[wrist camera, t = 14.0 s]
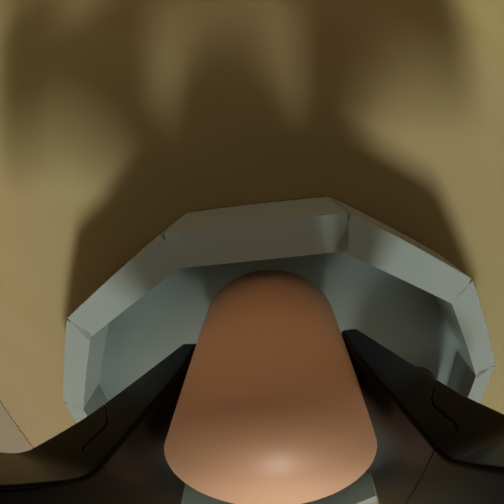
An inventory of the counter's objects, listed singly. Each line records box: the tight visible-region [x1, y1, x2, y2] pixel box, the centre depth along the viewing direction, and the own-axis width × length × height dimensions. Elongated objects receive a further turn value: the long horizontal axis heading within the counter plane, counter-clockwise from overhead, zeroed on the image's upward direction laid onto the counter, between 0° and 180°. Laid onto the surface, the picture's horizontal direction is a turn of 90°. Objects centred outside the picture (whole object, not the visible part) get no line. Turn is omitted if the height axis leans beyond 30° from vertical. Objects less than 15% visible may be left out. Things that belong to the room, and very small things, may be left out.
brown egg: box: [164, 270, 377, 504], centre depth 7 cm, size 4×4×5 cm
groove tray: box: [63, 197, 495, 504], centre depth 12 cm, size 18×18×3 cm
